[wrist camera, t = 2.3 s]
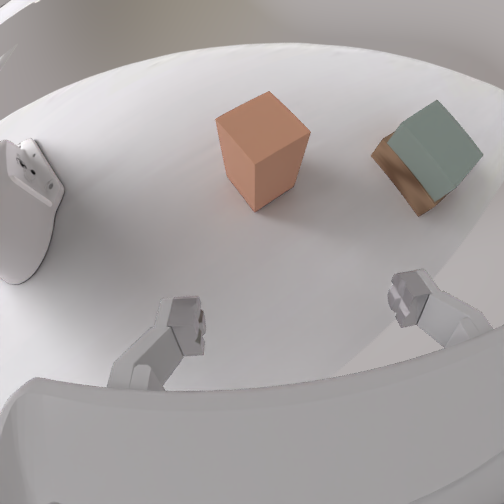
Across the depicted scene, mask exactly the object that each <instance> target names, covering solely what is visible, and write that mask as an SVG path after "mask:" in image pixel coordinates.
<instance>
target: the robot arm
mask: <svg viewBox="0 0 504 504" xmlns="http://www.w3.org/2000/svg"><path fill="white" fill-rule="evenodd" d="M63 194H64V187H63V185H62V183H61V182H60V180H59V179H58V177H57V176H56V174H55V173H54V171H53V170H52V168H51V166H50V165H49V163H48V162H47V160H46V158H45V157H44V155H43V153H42V152H41V150H40V148H39V147H38V145H37V143H36V142H35V140H33V139H32V138H29V139H26V140H24V141H22V142H21V143H19V144H18V145H17V146H16V145H15V144H14V143H12V142H11V141H9V140H2V141H0V279H2V280H4V281H5V282H7V283H9V284H20V283H22V282H24V281H26V280H27V279H28V278H30V277H31V276H32V275H33V274H34V272H35V271H36V270H37V268H38V267H39V265H40V264H41V262H42V260H43V258H44V256H45V254H46V251H47V249H48V246H49V243H50V239H51V235H52V230H53V224H54V217H55V213H56V210H57V208H58V206H59V204H60V202H61V199H62V197H63ZM392 283H393V285H392V286H391V288H390V289H389V292H388V303H389V306H390V308H391V310H393V311H394V312H396V316H395V317H396V319H397V321H398V323H399V325H400V327H401V328H403V327H407V326H412V325H417V326H418V327H419V328H421V329H422V330H423V331H424V332H426V333H427V334H428V335H429V336H431V337H432V338H433V339H434V340H436V341H437V342H438V343H439V344H441V345H442V346H443V347H444V349H441V350H439V351H436V352H432V353H429V354H426V355H423V356H420V357H416V358H413V359H410V360H406V361H403V362H399V363H395V364H392V365H388V366H384V367H380V368H376V369H371V370H367V371H363V372H358V373H354V374H349V375H344V376H339V377H333V378H327V379H322V380H315V381H309V382H302V383H295V384H287V385H279V386H270V387H260V388H249V389H234V390H215V391H165V389H164V388H163V385H164V383H165V382H166V381H167V379H168V378H169V377H170V375H171V374H172V373H173V371H174V370H175V368H176V367H177V366H178V364H179V363H180V362H181V360H182V359H183V358H184V357H183V356H196V355H204V346H205V341H204V338H203V335H204V334H205V332H206V323H205V316H204V312H203V310H201V301H200V298H199V296H188V297H172V298H162V300H161V301H160V305H159V309H158V313H157V317H156V321H155V325H154V327H151V328H150V329H148V330H147V331H146V332H145V333H144V334H143V335H142V336H141V337H140V338H139V339H138V340H137V341H136V342H135V343H134V344H133V345H132V346H131V347H130V348H128V349H127V350H126V351H125V352H124V353H123V354H122V355H121V356H120V357H119V358H118V359H117V360H116V361H115V362H114V363H113V366H112V370H111V373H110V377H109V380H108V384H107V387H98V386H89V385H82V384H74V383H68V382H62V381H56V380H51V379H46V378H40V377H35V378H32V379H31V380H29V381H27V382H26V383H25V384H24V385H22V386H21V387H20V388H19V389H18V390H17V391H15V392H14V393H13V394H12V395H11V396H10V397H9V398H8V399H7V401H6V403H5V404H4V407H3V409H2V411H1V413H0V504H504V325H502V326H500V327H498V328H495V329H493V328H492V326H491V325H490V323H489V322H488V320H487V319H486V318H485V316H484V315H483V313H482V312H480V311H479V310H477V309H475V308H474V307H472V306H470V305H468V304H467V303H465V302H463V301H461V300H459V299H458V298H456V297H454V296H452V295H450V294H448V293H447V292H445V291H441V290H440V289H439V288H438V286H437V285H436V284H435V283H434V281H433V280H432V278H431V277H430V276H429V274H428V273H427V272H426V271H425V270H424V269H419V270H414V271H408V272H402V273H396V274H394V275H393V277H392Z"/></svg>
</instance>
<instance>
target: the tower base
mask: <svg viewBox="0 0 504 504" xmlns="http://www.w3.org/2000/svg"><path fill="white" fill-rule="evenodd" d="M394 133H395V132H393V133H391V134H390V135H388V136H387V137H385V138H383V139H382V141H381V142H380V143H379V145H378V146H377V148H376V149H375V151H374V152H373V153H372V155H371V157H372V158H373V159H374V160H375V161H376V163H377V164H378V165H379V166H380V167H381V168H382V170H383V171H384V172H385V173H386V175H387V176H388V177H389V178H390V180H391V181H392V182H393V183H394V185H395V186H396V187H397V189H398V190H399V191H400V192H401V194H402V195H403V196H404V198H405V199H406V200H407V202H408V203H409V205H410V206H411V207H412V209H413V210H414V212H415V213H416V214H417V216H418V217H419V216H421V215H422V214H424V213H425V212H427V211H429V210H430V209H432V208H433V207H435V206H436V205H437V204H438V203H439V202H440V201H441V200H442V199H443V198H444V197H445V196H446V195H447V194H446V195H445V196H443V197H442V198H440V199H439V200H437V201H435V202H434V200H433V199H432V198H431V196H430V195H429V194H428V192H427V191H426V190H425V188H424V187H423V186H422V184H421V183H420V182H419V181H418V179H417V178H416V177H415V175H414V174H413V173H412V172H411V171H410V169H409V168H408V167H407V166H406V165H405V163H404V162H403V161H402V160H401V159H400V157H399V156H398V155H397V154H396V153H395V152H394V151H393V149H392V148H391V147H390V146H389V145H388V144H387V142H388V141H389V139H390V138H391V137H392V135H393V134H394Z"/></svg>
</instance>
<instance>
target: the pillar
mask: <svg viewBox="0 0 504 504" xmlns="http://www.w3.org/2000/svg"><path fill="white" fill-rule="evenodd" d="M215 120H216V125H217V130H218V135H219V140H220V145H221V150H222V155H223V160H224V165H225V170H226V175H227V177H228V178H229V180H230V181H231V182H232V183H233V185H234V186H235V187H236V189H237V190H238V191H239V193H240V194H241V195H242V196H243V198H244V199H245V200H246V202H247V203H248V204H249V206H250V207H251V208H252V210H253V211H254V212H256V211H258V210H259V209H261V208H262V207H263V206H265V205H266V204H268V203H269V202H271V201H272V200H274V199H275V198H277V197H279V196H280V195H282V194H283V193H285V192H286V191H288V190H289V189H291V188H292V187H294V185H295V181H296V178H297V175H298V172H299V169H300V165H301V162H302V159H303V156H304V153H305V149H306V146H307V143H308V139H309V136H310V133H311V132H310V131H309V129H308V128H307V127H306V126H305V125H304V124H303V123H302V122H301V121H300V120H299V119H298V118H297V117H296V116H295V115H294V114H293V113H292V112H291V111H290V110H289V109H288V108H287V107H286V106H285V105H283V104H282V103H281V102H280V101H279V100H278V99H277V98H276V97H275V96H274V95H273V94H272V93H271V92H270V91H268V92H266V93H264V94H262V95H260V96H258V97H256V98H254V99H252V100H250V101H248V102H246V103H244V104H242V105H240V106H238V107H236V108H234V109H233V110H231V111H229V112H227V113H225V114H223V115H221V116H220V117H218V118H216V119H215Z"/></svg>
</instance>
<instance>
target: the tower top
mask: <svg viewBox="0 0 504 504" xmlns="http://www.w3.org/2000/svg"><path fill="white" fill-rule="evenodd" d="M387 144H388V145H389V146H390V147H391V148H392V149H393V151H394V152H395V153H396V154H397V155H398V156H399V157H400V159H401V160H402V161H403V162H404V163H405V165H406V166H407V167H408V168H409V169H410V171H411V172H412V173H413V174H414V175H415V177H416V178H417V179H418V181H419V182H420V183H421V184H422V186H423V187H424V188H425V190H426V191H427V192H428V194H429V195H430V196H431V198H432V199H433V200H434V202H435V201H437V200H439V199H440V198H442V197H443V196H445V195H446V194H448V193H449V192H451V191H452V190H454V189H455V188H456V187H457V186H458V185H459V184H460V183H461V181H462V180H463V179H464V178H465V177H466V176H467V174H468V173H469V172H470V171H471V170H472V168H473V167H474V166H475V165H476V163H477V162H478V161H479V160H480V159H481V157H482V156H483V154H482V152H481V151H480V150H479V148H478V147H477V146H476V144H475V143H474V142H473V140H472V139H471V138H470V137H469V135H468V134H467V133H466V132H465V130H464V129H463V128H462V127H461V126H460V124H459V123H458V122H457V121H456V120H455V119H454V117H453V116H452V115H451V114H450V113H449V112H448V111H447V110H446V109H445V107H444V106H443V105H442V104H441V103H440V102H439V101H438V100H436V101H434V102H433V103H431V104H430V105H428V106H427V107H425V108H423V109H422V110H420V111H419V112H417V113H416V114H414V115H413V116H411V117H409V118H408V119H406V120H405V121H403V122H402V123H401V124H400V126H399V127H398V128H397V130H396V131H395V133H394V134H393V135H392V137H391V138H390V139H389V141H388V142H387Z"/></svg>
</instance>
